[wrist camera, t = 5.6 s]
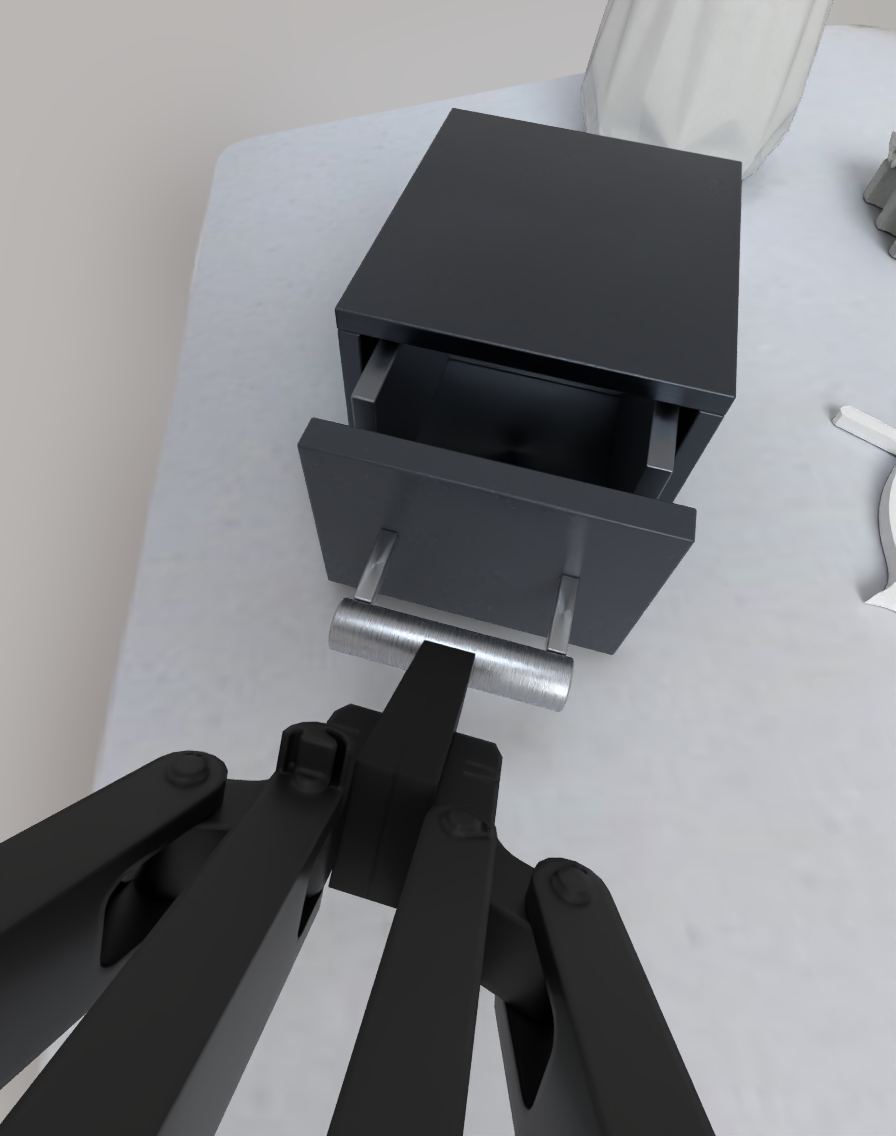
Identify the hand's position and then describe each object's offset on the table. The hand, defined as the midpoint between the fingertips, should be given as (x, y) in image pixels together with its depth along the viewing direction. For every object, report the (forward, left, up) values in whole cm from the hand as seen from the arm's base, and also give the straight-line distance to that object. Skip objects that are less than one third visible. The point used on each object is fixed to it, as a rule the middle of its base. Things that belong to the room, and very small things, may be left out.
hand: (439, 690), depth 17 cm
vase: (-39, +23, -6) cm, 46 cm away
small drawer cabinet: (-15, +7, -6) cm, 18 cm away
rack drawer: (-9, +4, -5) cm, 10 cm away
